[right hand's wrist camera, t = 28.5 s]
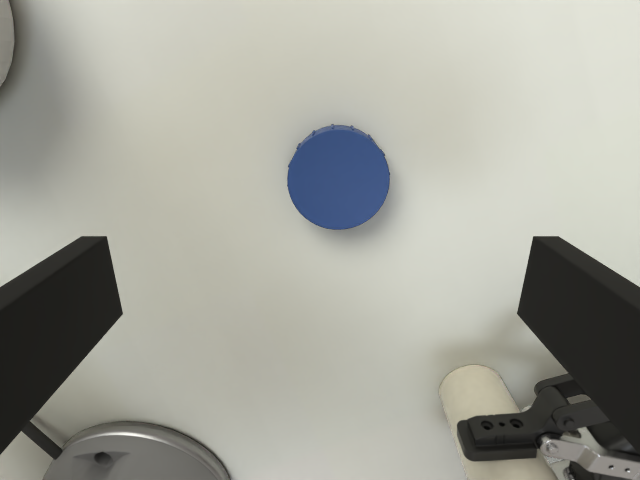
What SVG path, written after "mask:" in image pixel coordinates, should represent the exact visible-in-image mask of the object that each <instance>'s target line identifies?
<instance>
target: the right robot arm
mask: <svg viewBox="0 0 640 480" xmlns="http://www.w3.org/2000/svg"><path fill="white" fill-rule="evenodd" d="M122 314H123V312H122V307H121V303H120V298H119V293H118V288H117V284H116V279H115V274H114V269H113V265H112V260H111V255H110V250H109V245H108V241H107V236H82V237H80V238H78V239H77V240H75V241H74V242H72V243H70V244H69V245H67V246H66V247H64V248H62V249H61V250H59V251H58V252H56V253H54V254H53V255H51V256H50V257H48V258H46V259H45V260H43V261H42V262H40V263H38V264H37V265H35V266H34V267H32V268H30V269H29V270H27V271H26V272H24V273H22V274H21V275H19V276H18V277H16V278H14V279H13V280H11V281H10V282H8V283H6V284H5V285H3V286H2V287H0V454H1V453H2V452H3V451H4V450H5V449H6V447H7V446H8V445H9V444H10V443H11V442H12V441H13V439H14V438H15V437H16V436H17V435H18V434H19V433H20V431H22V432H23V433H25V434H26V435H27V436H28V437H29V438H30V439H31V440H33V441H34V442H35V443H36V444H37V445H38V446H40V447H41V448H42V449H43V450H44V451H45V452H47V453H48V454H49V455H50V456H51V457H52V458H54V460H53V461H52V463H51V464H50V466H49V468H48V470H47V472H46V473H45V475H44V477H43V480H230V479H229V476H228V474H227V472H226V470H225V469H224V467H223V466H222V464H221V463H220V462H219V461H218V460H217V458H216V457H215V456H214V455H213V454H212V453H211V452H209V451H208V450H207V449H206V448H205V447H203V446H202V445H200V444H199V443H197V442H196V441H194V440H192V439H191V438H189V437H187V436H185V435H183V434H181V433H178V432H176V431H173V430H171V429H168V428H165V427H161V426H157V425H153V424H147V423H140V422H112V423H105V424H100V425H97V426H93V427H90V428H88V429H85V430H83V431H81V432H80V433H78V434H76V435H75V436H73V437H72V438H71V439H70V440H69V441H68V442H66V444H65V445H64V446H63V447H62V449H61V448H60V447H59V446H58V445H56V444H55V443H54V442H53V441H52V440H51V439H49V438H48V437H47V436H46V435H45V434H44V433H43V432H41V431H40V430H39V429H38V428H37V427H36V426H35V425H34V424H32V423H31V422H30V420H31V419H32V418H33V416H34V415H35V414H36V413H37V412H38V411H39V410H40V408H41V407H42V406H43V405H44V404H45V403H46V402H47V400H48V399H49V398H50V397H51V396H52V395H53V394H54V392H55V391H56V390H57V389H58V388H59V387H60V385H61V384H62V383H63V382H64V381H65V380H66V379H67V377H68V376H69V375H70V374H71V373H72V372H73V371H74V369H75V368H76V367H77V366H78V365H79V364H80V363H81V361H82V360H83V359H84V358H85V357H86V356H87V354H88V353H89V352H90V351H91V350H92V349H93V348H94V346H95V345H96V344H97V343H98V342H99V341H100V340H101V338H102V337H103V336H104V335H105V334H106V333H107V332H108V330H109V329H110V328H111V327H112V326H113V325H114V323H115V322H116V321H117V320H118V319H119V318H120V317H121V315H122ZM517 314H518V315H519V317H520V318H521V319H522V320H523V321H524V322H525V323H526V325H527V326H528V327H529V328H530V329H531V330H532V332H533V333H534V334H535V335H536V336H537V337H538V338H539V340H540V341H541V342H542V343H543V344H544V345H545V346H546V348H547V349H548V350H549V351H550V352H551V353H552V354H553V356H554V357H555V358H556V359H557V360H558V361H559V363H560V364H561V365H562V366H563V367H564V368H565V369H566V371H567V372H568V373H569V374H570V375H571V376H572V377H573V379H574V380H575V381H576V382H577V383H578V384H579V385H580V387H581V388H582V389H583V390H584V391H585V392H586V394H587V395H588V396H589V397H590V398H591V399H592V400H593V402H594V403H595V404H596V405H597V406H598V407H599V408H600V410H601V411H602V412H603V413H604V414H605V415H606V416H607V418H608V419H609V420H610V421H611V422H612V423H613V425H614V426H615V427H616V428H617V429H618V430H619V431H620V433H621V434H622V435H623V436H624V437H625V438H626V439H627V441H628V442H629V443H630V444H631V445H632V446H633V447H634V449H635V450H636V451H637V452H638V453H639V454H640V287H638V286H637V285H635V284H634V283H632V282H630V281H629V280H627V279H626V278H624V277H622V276H621V275H619V274H618V273H616V272H614V271H613V270H611V269H610V268H608V267H606V266H605V265H603V264H602V263H600V262H598V261H597V260H595V259H594V258H592V257H590V256H589V255H587V254H586V253H584V252H582V251H581V250H579V249H578V248H576V247H574V246H573V245H571V244H570V243H568V242H566V241H565V240H563V239H562V238H560V237H558V236H533V241H532V245H531V250H530V255H529V260H528V264H527V269H526V274H525V279H524V284H523V288H522V293H521V298H520V303H519V307H518V312H517Z"/></svg>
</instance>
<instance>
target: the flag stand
mask: <svg viewBox="0 0 640 480" xmlns="http://www.w3.org/2000/svg"><path fill="white" fill-rule="evenodd" d="M14 42H15V41H14V23H13V16H12V12H11V7H10V3H9V0H0V86H1V85H2V84H3V82H4V81H5V79H6V76H7V74H8V71H9V68H10V66H11V63H12V57H13V50H14Z"/></svg>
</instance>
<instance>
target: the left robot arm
mask: <svg viewBox="0 0 640 480" xmlns="http://www.w3.org/2000/svg"><path fill="white" fill-rule="evenodd" d="M534 392H535V393H536V395H537V398H536V399H535V401H534V403H533V405H529V406H526V407H524V408H523V409H522V410H521V412H520V413H509V414H495V415H488V416H486V415H479V416H474V417H471V418H469V419H467V420H461V421H459V422H458V423H457V437H458V440H459V443H460V446H461V448H462V451H463V454H464V456H465V457H466V458H467V459H468V460H470V461H474V462H477V461H495V460H512V459H529V458H536V455H537V449H539V450H540V452H541V453H542V454H543V455H545V456H548V457H553V458H559V459H564V460H561V461H558V462H554V463H551V464H550V465H551V467H552V469H553V471H554V472H555V474H556V476H557V478H558V479H559V480H572V479H574V480H640V454H639V453H638V452H637V451H636V450H635V449H634V447H633V446H632V445H631V444H630V443H629V442H628V441H627V439H626V438H625V437H624V436H623V435H622V434H621V433H620V431H619V430H618V429H617V428H616V427H615V426H614V425H613V423H612V422H611V421H610V420H609V419H608V418H607V416H606V415H605V414H604V413H603V412H602V411H601V410H600V408H599V407H598V406H597V405H596V404H595V403H594V402H593V400H588V401H584V402H580V403H576V404H572V405H571V404H570V403H569V402H568V400H567V399H566V398H568V397H572V396H576V395H580V394H585V395H587V394H586V392H585V391H584V390H583V389H582V388H581V387H580V385H579V384H578V383H577V382H576V381H575V380H574V379H573V377H572V376H571V375H570V374H565V375H561V376H558V377H554V378H550V379H546V380H543V381H540V382H539V383H537V384H536V386H535V388H534Z"/></svg>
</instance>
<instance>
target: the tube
mask: <svg viewBox="0 0 640 480" xmlns="http://www.w3.org/2000/svg"><path fill="white" fill-rule="evenodd" d="M439 396H440V400H441V403H442V406H443V409H444V412H445V415H446V418H447V421H448V423H449V426H450V429H451V432H452V435H453V438H454V441H455V444H456V447H457V450H458V453H459V456H460V459H461V462H462V465H463V468H464V471H465V474H466V477H467V480H559V479H558V478H557V476H556V474H555V472H554V471H553V469H552V467H551V465H550V463H549V462H548V460H547V458H546V456H545V455H543V454H542V453H541V452H540V450H539V449H537V455H536V458H529V459H512V460H495V461H477V462H474V461H470V460H468V459H467V458H466V457H465V456H464V454H463V451H462V448H461V446H460V443H459V440H458V437H457V423H458V422H459V421H461V420H467V419H469V418H471V417H474V416H479V415H486V416H488V415H495V414H509V413H520V410H519V409H518V407H517V405H516V403H515V402H514V400H513V398H512V396H511V394H510V393H509V391H508V389H507V387H506V386H505V384H504V382H503V380H502V379H501V377H500V376H499V374H498V373H497V372H495V371H494V370H492V369H491V368H488V367H486V366H481V365H468V366H464V367H460V368H458V369H456V370H454V371H452V372H451V373H449V374H448V375H447V376H446V377H445V378H444V380H443V381H442V383H441V385H440V389H439Z"/></svg>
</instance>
